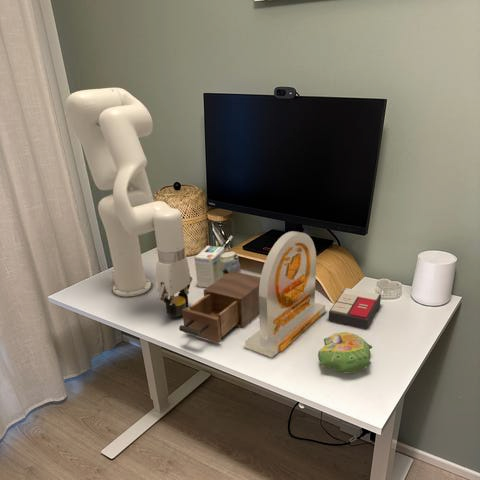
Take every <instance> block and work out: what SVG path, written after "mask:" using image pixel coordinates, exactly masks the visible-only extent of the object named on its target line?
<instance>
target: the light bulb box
mask: <svg viewBox="0 0 480 480" xmlns="http://www.w3.org/2000/svg"><path fill="white" fill-rule="evenodd" d="M225 251H226V250H225V247H224V246H215V245H214V246H213V245H205V247H204V248H203V249H202V250H201V251H199V253H197V254H196V255H195V256H194V265H195V266H194V267H195V274H196V275H195V276H196V284H197V287H201V288H207V287H209V286H210V285H212V284H213V283H214V282H216V281H217V280H219V279H220V278H222V277H223V273H222V268H221V264H220V258H221V255H222V254H223V253H226V252H225Z"/></svg>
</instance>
